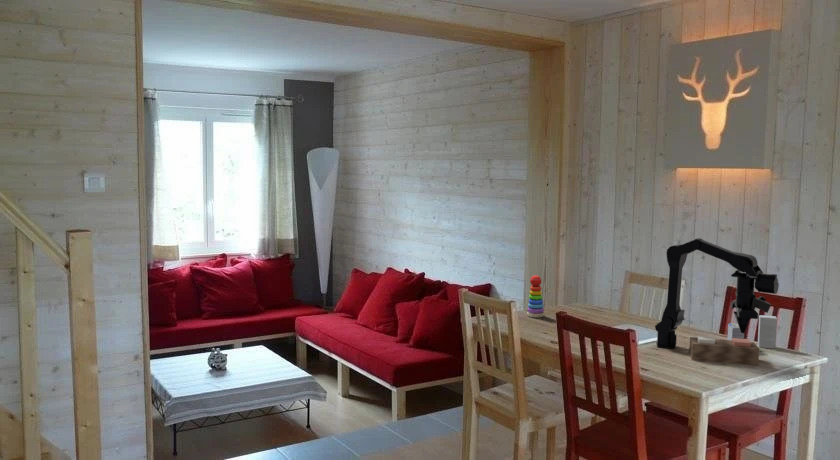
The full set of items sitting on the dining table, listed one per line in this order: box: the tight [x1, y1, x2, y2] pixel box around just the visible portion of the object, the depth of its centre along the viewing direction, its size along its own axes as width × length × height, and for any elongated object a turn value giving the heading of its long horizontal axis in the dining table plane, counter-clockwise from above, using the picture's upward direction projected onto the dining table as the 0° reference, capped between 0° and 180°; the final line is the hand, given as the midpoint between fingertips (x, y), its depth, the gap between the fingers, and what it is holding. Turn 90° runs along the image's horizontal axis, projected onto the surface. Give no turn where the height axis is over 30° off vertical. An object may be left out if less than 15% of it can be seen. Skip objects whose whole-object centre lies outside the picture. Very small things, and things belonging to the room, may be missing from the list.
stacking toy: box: [526, 275, 545, 318], centre depth 322 cm, size 8×8×19 cm
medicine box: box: [726, 322, 745, 340], centre depth 273 cm, size 8×4×9 cm, turn 168°
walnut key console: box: [688, 336, 760, 366], centre depth 257 cm, size 22×10×6 cm, turn 75°
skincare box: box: [757, 314, 778, 349], centre depth 275 cm, size 6×4×12 cm
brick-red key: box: [732, 338, 752, 347], centre depth 255 cm, size 6×6×4 cm
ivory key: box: [696, 335, 716, 344], centre depth 258 cm, size 6×6×4 cm
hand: (742, 332), depth 255 cm, fingers closed
